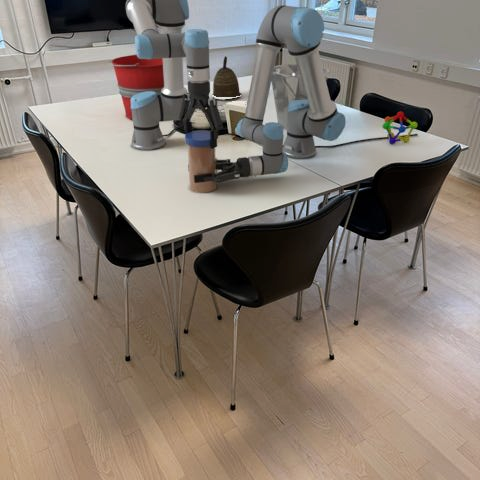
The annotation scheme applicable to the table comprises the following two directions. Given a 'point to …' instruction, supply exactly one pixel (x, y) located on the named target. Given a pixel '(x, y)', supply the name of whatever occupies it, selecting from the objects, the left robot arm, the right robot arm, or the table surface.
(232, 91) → the bell
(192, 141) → the lid
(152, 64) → the bucket
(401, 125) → the educational toy
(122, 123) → the table surface
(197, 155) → the jar
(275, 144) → the right robot arm
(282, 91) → the bucket
